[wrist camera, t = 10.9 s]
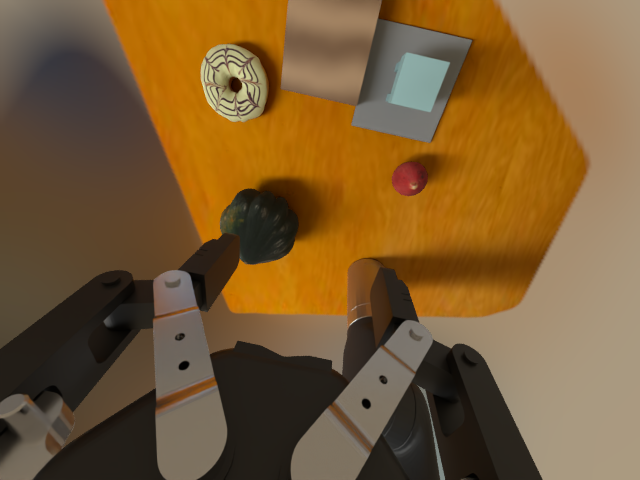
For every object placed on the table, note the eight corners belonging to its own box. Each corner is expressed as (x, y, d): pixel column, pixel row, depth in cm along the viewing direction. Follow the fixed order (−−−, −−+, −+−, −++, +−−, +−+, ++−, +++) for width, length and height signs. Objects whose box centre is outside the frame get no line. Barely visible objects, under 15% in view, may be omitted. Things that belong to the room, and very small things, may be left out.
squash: (261, 164, 41) (202, 230, 36) (322, 219, 46) (278, 284, 41) (245, 186, 54) (200, 238, 48) (295, 228, 58) (259, 279, 53)
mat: (429, 142, 41) (430, 142, 41) (351, 124, 41) (351, 125, 41) (470, 41, 34) (472, 40, 34) (376, 19, 34) (376, 18, 33)
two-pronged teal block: (430, 69, 36) (450, 62, 29) (415, 110, 39) (430, 112, 32) (395, 61, 36) (406, 52, 29) (383, 102, 39) (390, 103, 32)
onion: (413, 150, 42) (425, 160, 36) (426, 177, 44) (440, 191, 38) (383, 169, 44) (390, 181, 38) (397, 193, 47) (406, 209, 40)
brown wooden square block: (356, 105, 40) (356, 106, 36) (286, 89, 40) (280, 88, 36) (378, 10, 33) (382, 0, 30) (296, -9, 33) (290, -22, 30)
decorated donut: (274, 120, 42) (268, 121, 39) (218, 120, 43) (207, 122, 40) (266, 45, 37) (259, 40, 34) (202, 48, 38) (189, 44, 35)
